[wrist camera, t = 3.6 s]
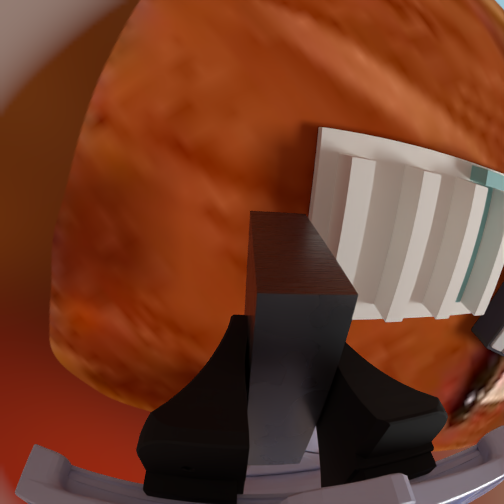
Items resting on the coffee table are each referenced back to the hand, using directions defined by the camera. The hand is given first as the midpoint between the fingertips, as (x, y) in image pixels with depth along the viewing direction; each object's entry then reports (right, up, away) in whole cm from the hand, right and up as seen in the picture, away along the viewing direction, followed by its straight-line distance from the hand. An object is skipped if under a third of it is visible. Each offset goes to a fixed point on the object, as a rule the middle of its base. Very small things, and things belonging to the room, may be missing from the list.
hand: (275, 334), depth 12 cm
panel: (0, +1, +3) cm, 3 cm away
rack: (+12, +5, +9) cm, 16 cm away
